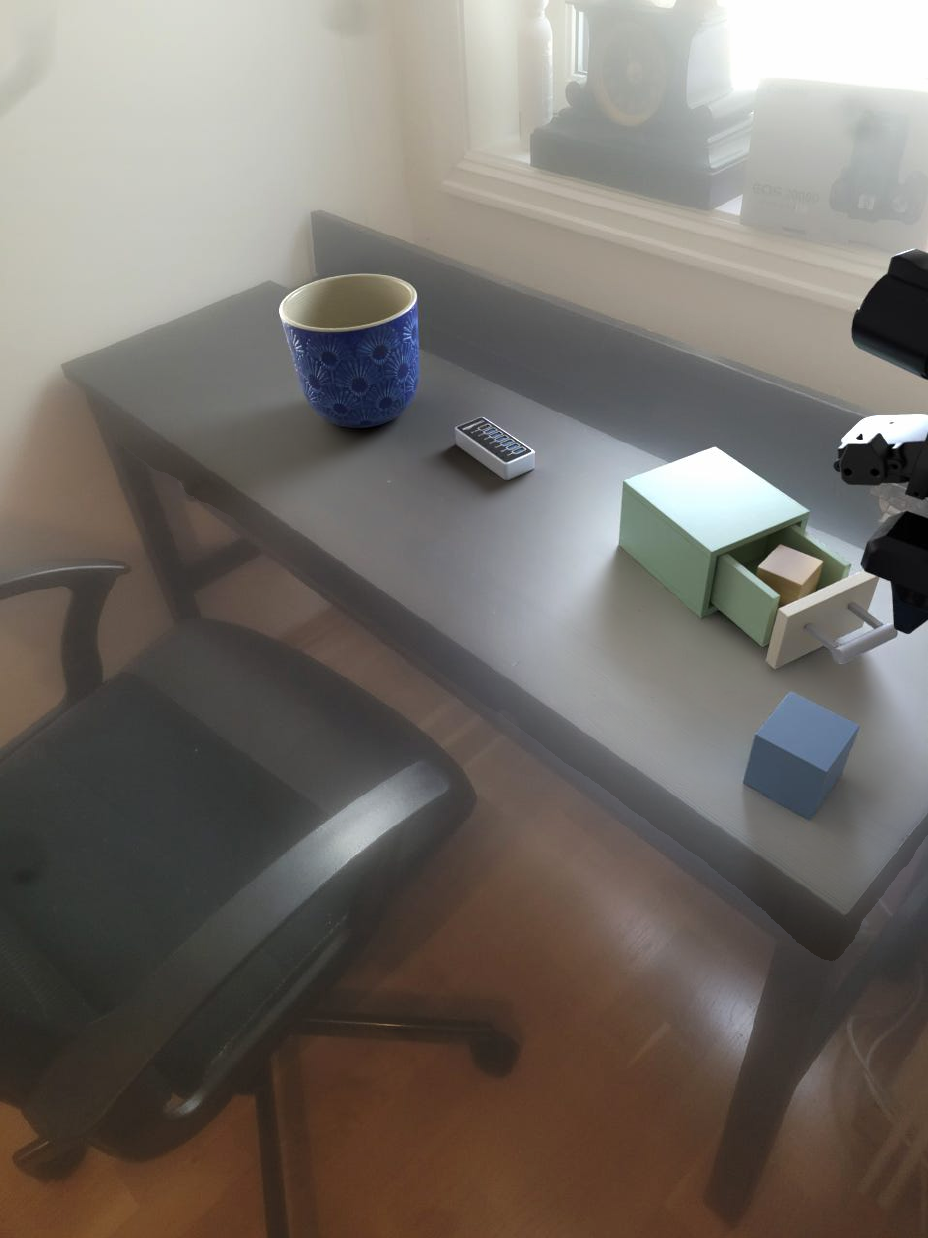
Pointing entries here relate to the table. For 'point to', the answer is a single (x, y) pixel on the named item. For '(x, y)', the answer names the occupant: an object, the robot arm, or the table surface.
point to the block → (790, 574)
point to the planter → (355, 346)
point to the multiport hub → (494, 448)
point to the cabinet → (699, 520)
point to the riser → (800, 754)
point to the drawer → (798, 601)
